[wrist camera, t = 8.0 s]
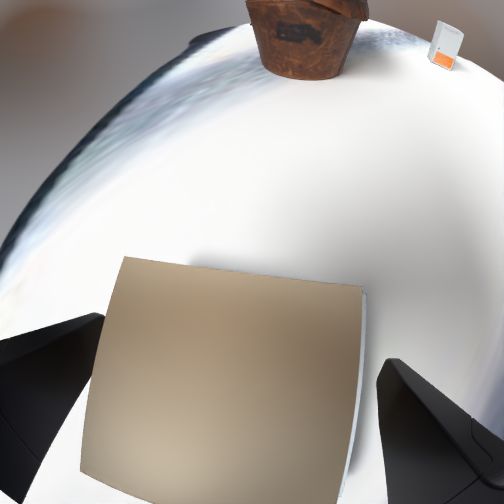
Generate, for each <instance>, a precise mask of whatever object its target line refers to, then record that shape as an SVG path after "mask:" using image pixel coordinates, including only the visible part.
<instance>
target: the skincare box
mask: <svg viewBox="0 0 504 504" xmlns="http://www.w3.org/2000/svg"><path fill="white" fill-rule="evenodd" d="M463 37H464V34H463V33H462V32H460V31H459V30H458V29H456V28H454V27H452V26H450V25H448V24H445V23H443V22H441V21H438V23H437V27H436V30H435V33H434V37H433V40H432V43H431V46H430V49H429V52H428V55H427V57H428V58H429V60H430V61H431V62H432V63H435V64H437V65H439V66H441V67H444V68H446V69H448V70H449V71H451V69H452V67H453V64H454V61H455V59H456V56H457V53H458V51H459V48H460V45H461V42H462V40H463Z"/></svg>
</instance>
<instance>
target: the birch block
mask: <svg viewBox="0 0 504 504" xmlns="http://www.w3.org/2000/svg"><path fill="white" fill-rule="evenodd" d="M361 329H362V287H361V286H352V285H342V284H333V283H324V282H315V281H306V280H297V279H289V278H280V277H272V276H264V275H256V274H248V273H240V272H232V271H225V270H217V269H210V268H202V267H195V266H188V265H180V264H173V263H166V262H160V261H153V260H146V259H139V258H133V257H126V256H124V259H123V262H122V265H121V268H120V271H119V274H118V277H117V280H116V283H115V286H114V289H113V293H112V296H111V299H110V303H109V306H108V310H107V313H106V317H105V320H104V324H103V328H102V332H101V336H100V340H99V344H98V348H97V353H96V357H95V362H94V367H93V372H92V377H91V382H90V388H89V394H88V400H87V406H86V413H85V421H84V429H83V438H82V449H81V463H80V471H81V472H82V473H84V474H86V475H88V476H90V477H92V478H94V479H96V480H98V481H100V482H102V483H104V484H106V485H108V486H110V487H113V488H115V489H117V490H119V491H122V492H124V493H126V494H129V495H131V496H134V497H136V498H139V499H142V500H144V501H147V502H150V503H153V504H336V503H337V499H338V495H339V491H340V487H341V483H342V479H343V474H344V470H345V465H346V460H347V455H348V450H349V444H350V438H351V432H352V426H353V419H354V411H355V404H356V395H357V386H358V376H359V364H360V349H361Z"/></svg>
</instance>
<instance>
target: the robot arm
mask: <svg viewBox="0 0 504 504" xmlns="http://www.w3.org/2000/svg"><path fill="white" fill-rule="evenodd" d="M104 320H105V316H104V315H102V314H99V313H90V314H87V315H84V316H81V317H77V318H74V319H71V320H67V321H64V322H61V323H58V324H54V325H51V326H48V327H44V328H41V329H38V330H34V331H31V332H27V333H24V334H21V335H17V336H14V337H10V339H9V338H7V339H3V340H0V490H1V491H2V492H4V493H5V494H6V495H7V496H9V497H10V498H11V499H13V500H14V501H15V502H17V503H18V504H22V503H23V501H24V499H25V497H26V495H27V492H28V490H29V488H30V486H31V484H32V482H33V480H34V478H35V476H36V473H37V471H38V469H39V467H40V465H41V463H42V461H43V459H44V457H45V455H46V454H47V452H48V450H49V448H50V446H51V444H52V442H53V440H54V439H55V437H56V435H57V433H58V431H59V430H60V428H61V426H62V424H63V423H64V421H65V419H66V417H67V416H68V414H69V412H70V410H71V409H72V407H73V405H74V404H75V402H76V400H77V399H78V397H79V395H80V394H81V392H82V390H83V389H84V387H85V386H86V384H87V382H88V381H89V379H90V377H91V376H92V372H93V367H94V362H95V357H96V353H97V348H98V344H99V340H100V336H101V332H102V328H103V324H104ZM376 387H377V401H378V419H379V429H380V436H381V443H382V450H383V457H384V465H385V474H386V484H387V495H388V504H504V441H503V440H502V439H500V438H499V437H497V436H496V435H494V434H493V433H491V432H490V431H489V430H488V429H486V428H485V427H484V426H482V425H481V424H480V423H479V422H477V421H476V420H475V419H474V418H471V416H470V415H469V414H467V413H466V412H465V411H464V410H463V409H461V408H460V407H459V406H458V405H456V404H455V403H454V402H453V401H451V400H450V399H449V398H448V397H446V396H445V395H444V394H443V393H441V392H440V391H439V390H438V389H436V388H435V387H434V386H433V385H431V384H430V383H429V382H428V381H426V380H425V379H424V378H423V377H421V376H420V375H419V374H418V373H416V372H415V371H414V370H413V369H411V368H410V367H409V366H408V365H406V364H405V363H404V362H403V361H401V360H400V359H398V358H388V359H386V361H385V362H384V364H383V367H382V369H381V371H380V373H379V375H378V378H377V382H376Z"/></svg>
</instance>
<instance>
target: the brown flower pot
mask: <svg viewBox="0 0 504 504" xmlns="http://www.w3.org/2000/svg"><path fill="white" fill-rule="evenodd" d="M245 2H246V6H247V9H248V12H249V16H250V19H251V24H250V25H252V26H253V30H254V34H255V37H256V41H257V45H258V49H259V53H260V57H261V61H262V64H263V66H264V67H265V68H266V69H267V70H269V71H271V72H272V73H275V74H277V75H280V76H284V77H288V78H294V79H302V80H321V79H328V78H331V77H334V76H336V75H339V74H340V73H341V72H342V68H343V65H344V62H345V59H346V57H347V54H348V52H349V49H350V47H351V45H352V42H353V40H354V37H355V35H356V33H357V30H358V28H359V25H360V23H361V21H363V22H364V21H367V20H368V19H369V8H368V3H367V0H247V1H245Z"/></svg>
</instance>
